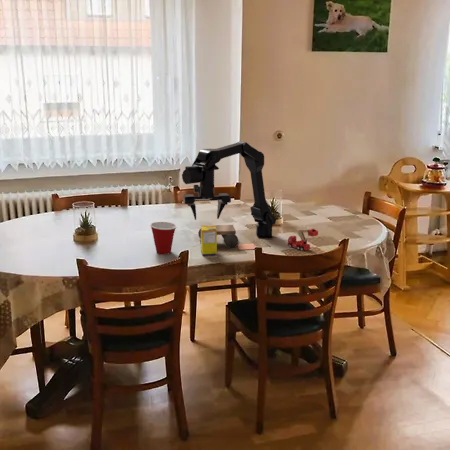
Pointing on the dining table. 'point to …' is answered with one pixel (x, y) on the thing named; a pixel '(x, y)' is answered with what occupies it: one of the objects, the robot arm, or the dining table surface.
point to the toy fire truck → (303, 242)
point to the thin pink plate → (246, 246)
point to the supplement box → (208, 240)
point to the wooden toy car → (225, 234)
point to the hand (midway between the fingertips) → (206, 219)
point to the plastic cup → (163, 236)
